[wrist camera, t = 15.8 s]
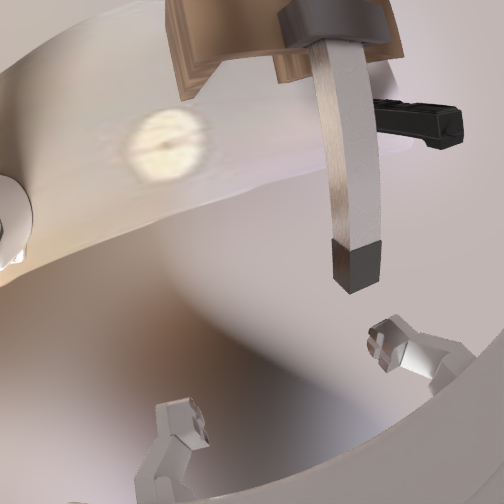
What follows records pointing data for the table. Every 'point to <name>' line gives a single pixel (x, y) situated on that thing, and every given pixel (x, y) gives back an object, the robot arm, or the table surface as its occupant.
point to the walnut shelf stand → (271, 34)
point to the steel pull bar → (349, 159)
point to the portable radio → (420, 122)
